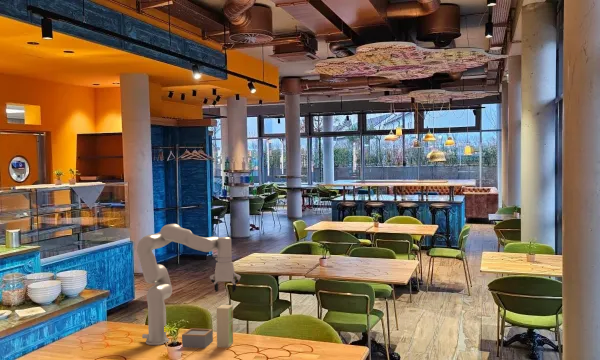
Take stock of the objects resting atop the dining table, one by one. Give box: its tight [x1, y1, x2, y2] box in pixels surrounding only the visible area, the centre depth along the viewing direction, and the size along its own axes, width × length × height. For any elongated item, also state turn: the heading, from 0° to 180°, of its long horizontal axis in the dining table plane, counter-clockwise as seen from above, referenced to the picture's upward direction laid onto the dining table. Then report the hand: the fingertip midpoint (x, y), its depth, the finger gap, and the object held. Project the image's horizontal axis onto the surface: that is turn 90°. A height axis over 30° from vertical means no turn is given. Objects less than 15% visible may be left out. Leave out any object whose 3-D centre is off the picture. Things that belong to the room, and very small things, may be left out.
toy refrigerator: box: [216, 304, 234, 348], centre depth 280 cm, size 8×7×21 cm
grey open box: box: [181, 328, 214, 349], centre depth 283 cm, size 13×12×7 cm
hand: (225, 291), depth 281 cm, fingers open, 9 cm apart
